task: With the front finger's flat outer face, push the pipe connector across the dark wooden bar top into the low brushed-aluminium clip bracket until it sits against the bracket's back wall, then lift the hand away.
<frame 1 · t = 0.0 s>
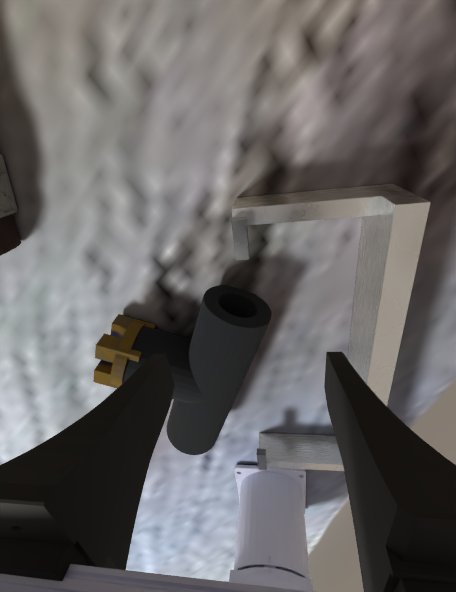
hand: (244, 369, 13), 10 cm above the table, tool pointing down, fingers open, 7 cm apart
pipe connector: (182, 344, 27), on the table
clip bracket: (298, 346, 25), on the table
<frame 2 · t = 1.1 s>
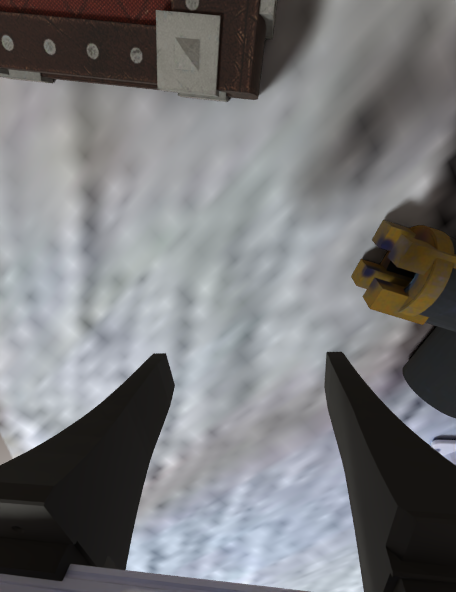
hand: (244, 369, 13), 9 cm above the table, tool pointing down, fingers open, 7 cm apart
pipe connector: (443, 270, 20), on the table
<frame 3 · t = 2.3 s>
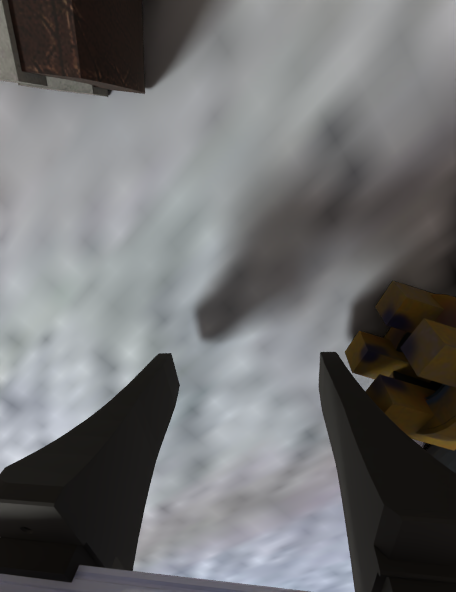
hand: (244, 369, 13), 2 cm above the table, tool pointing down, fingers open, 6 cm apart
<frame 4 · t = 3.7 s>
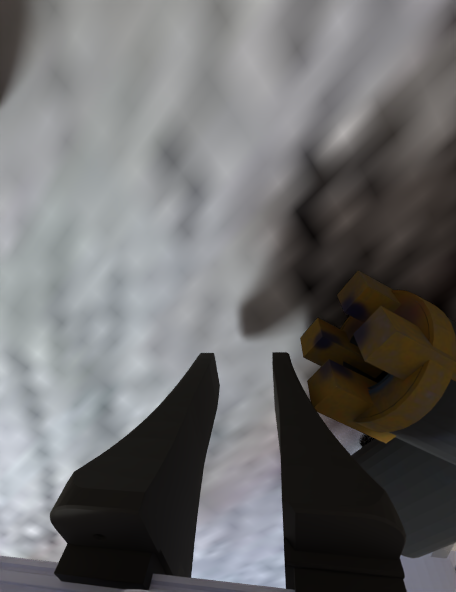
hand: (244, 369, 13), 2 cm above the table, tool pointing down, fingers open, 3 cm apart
pipe connector: (423, 350, 14), on the table, touching clip bracket, gripper
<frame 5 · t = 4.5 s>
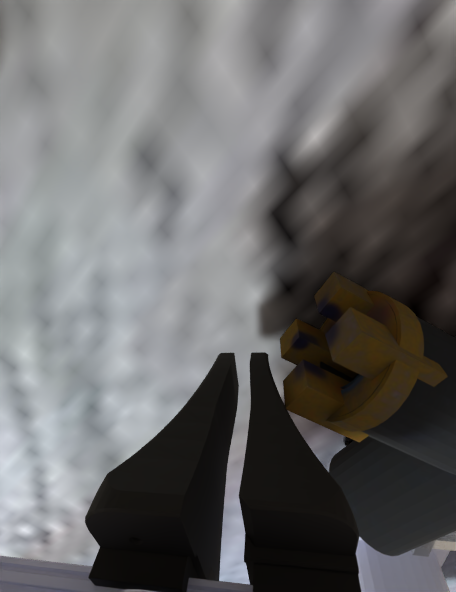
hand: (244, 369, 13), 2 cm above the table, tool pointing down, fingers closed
pipe connector: (402, 350, 15), on the table, touching clip bracket, gripper
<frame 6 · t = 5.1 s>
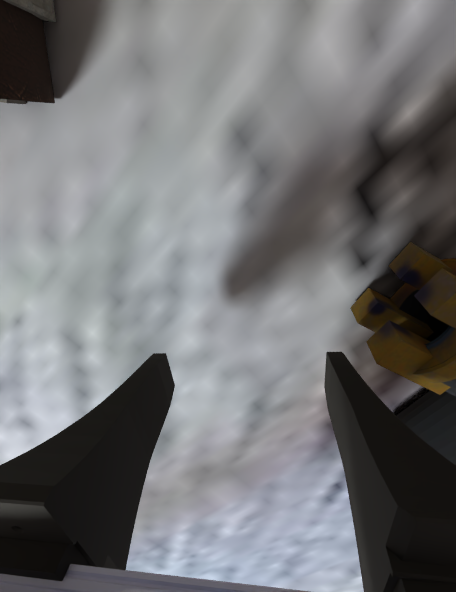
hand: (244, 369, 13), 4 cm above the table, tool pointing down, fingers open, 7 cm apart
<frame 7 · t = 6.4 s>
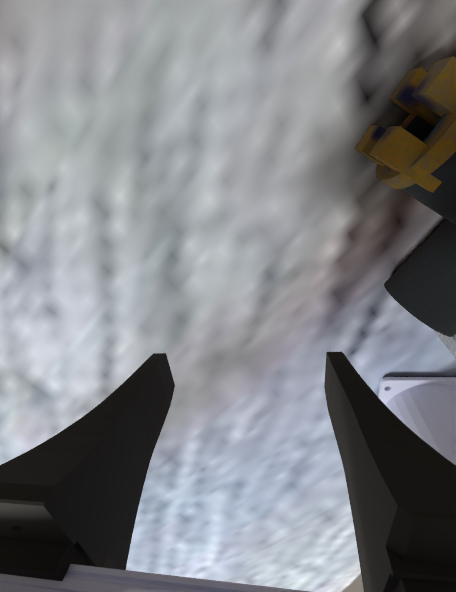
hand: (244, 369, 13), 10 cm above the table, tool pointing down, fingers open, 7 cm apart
pipe connector: (453, 166, 17), on the table
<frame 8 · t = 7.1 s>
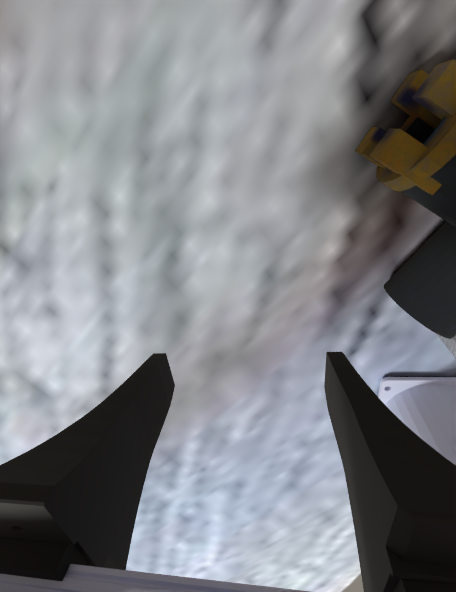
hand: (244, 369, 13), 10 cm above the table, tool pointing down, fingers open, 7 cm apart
pipe connector: (453, 169, 18), on the table
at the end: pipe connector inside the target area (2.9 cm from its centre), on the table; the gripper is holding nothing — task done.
